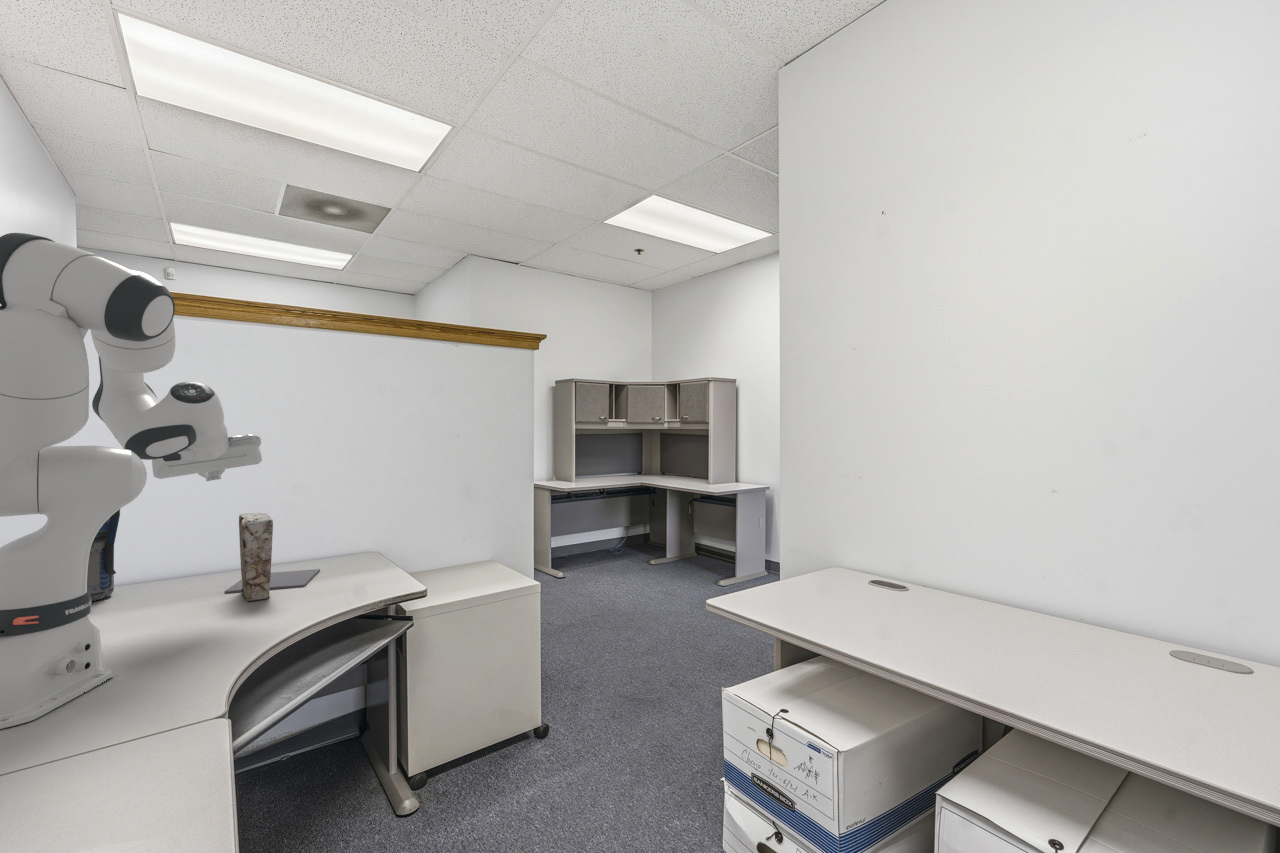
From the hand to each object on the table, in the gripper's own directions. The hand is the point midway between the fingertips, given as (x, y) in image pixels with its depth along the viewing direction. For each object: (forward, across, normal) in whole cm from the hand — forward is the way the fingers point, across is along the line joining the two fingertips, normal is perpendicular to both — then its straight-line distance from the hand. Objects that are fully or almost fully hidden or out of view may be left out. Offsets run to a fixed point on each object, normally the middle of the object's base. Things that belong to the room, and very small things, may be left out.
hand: (213, 478), depth 132 cm
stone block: (+23, -4, +22) cm, 31 cm away
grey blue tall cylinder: (+35, +29, +4) cm, 46 cm away
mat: (+33, -9, +14) cm, 36 cm away
